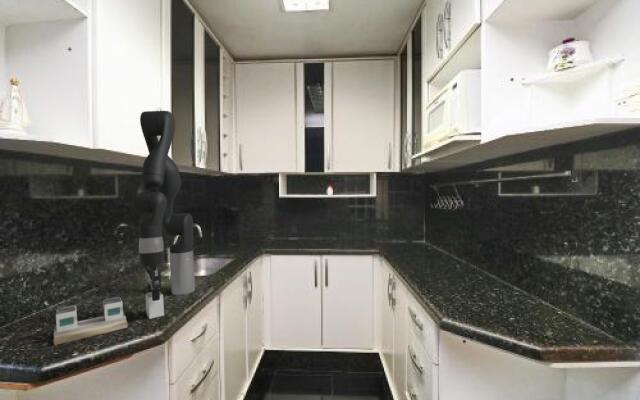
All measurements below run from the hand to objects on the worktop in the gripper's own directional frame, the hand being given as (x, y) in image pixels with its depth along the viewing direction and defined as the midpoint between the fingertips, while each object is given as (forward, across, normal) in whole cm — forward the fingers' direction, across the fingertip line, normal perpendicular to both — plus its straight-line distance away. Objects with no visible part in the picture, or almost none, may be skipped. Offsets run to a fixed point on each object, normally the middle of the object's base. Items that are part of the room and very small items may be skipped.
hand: (153, 297), depth 113 cm
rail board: (+6, 0, +18) cm, 19 cm away
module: (+6, 0, 0) cm, 6 cm away
